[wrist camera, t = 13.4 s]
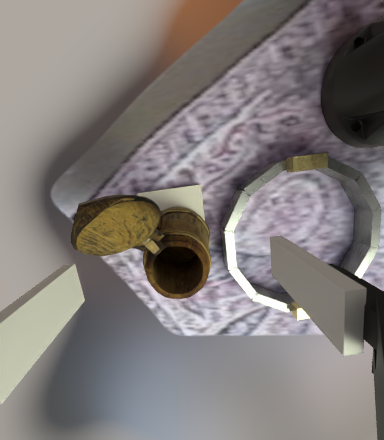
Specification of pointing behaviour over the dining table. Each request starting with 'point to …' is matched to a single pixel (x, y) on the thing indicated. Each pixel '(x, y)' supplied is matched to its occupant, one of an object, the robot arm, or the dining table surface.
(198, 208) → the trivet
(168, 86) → the dining table surface
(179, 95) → the dining table surface
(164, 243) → the wooden mug
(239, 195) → the collar
